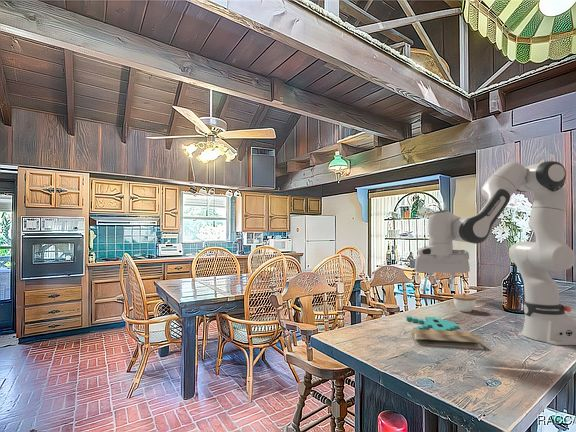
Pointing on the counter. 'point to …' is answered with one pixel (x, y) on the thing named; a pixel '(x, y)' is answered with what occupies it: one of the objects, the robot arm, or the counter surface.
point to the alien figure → (433, 323)
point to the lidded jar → (464, 302)
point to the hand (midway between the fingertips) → (442, 283)
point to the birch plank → (448, 338)
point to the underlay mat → (450, 344)
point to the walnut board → (442, 332)
